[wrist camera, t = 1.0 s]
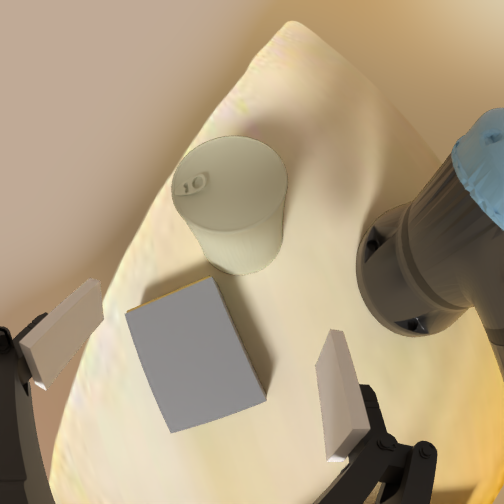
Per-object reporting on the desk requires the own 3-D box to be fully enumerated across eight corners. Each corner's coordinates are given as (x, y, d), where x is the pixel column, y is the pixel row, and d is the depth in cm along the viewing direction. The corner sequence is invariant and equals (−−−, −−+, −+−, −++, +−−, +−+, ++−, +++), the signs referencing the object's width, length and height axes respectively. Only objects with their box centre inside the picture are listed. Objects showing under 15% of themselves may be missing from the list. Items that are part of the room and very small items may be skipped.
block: (216, 280, 31) (210, 273, 28) (266, 395, 27) (266, 400, 24) (135, 315, 30) (123, 311, 27) (179, 426, 26) (170, 433, 23)
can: (194, 210, 34) (164, 147, 23) (270, 191, 34) (270, 121, 23) (209, 284, 31) (175, 246, 20) (292, 263, 31) (305, 214, 20)
